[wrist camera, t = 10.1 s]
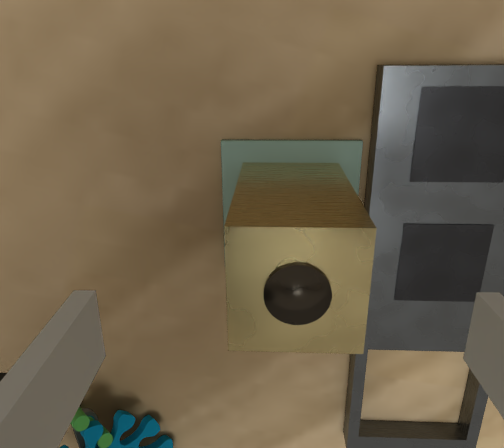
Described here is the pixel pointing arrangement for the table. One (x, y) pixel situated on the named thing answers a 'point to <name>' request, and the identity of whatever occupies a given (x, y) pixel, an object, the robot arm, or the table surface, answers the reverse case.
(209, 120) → the table surface
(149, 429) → the blue spiky knobbed toy
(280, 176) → the wooden speaker box
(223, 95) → the table surface
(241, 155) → the translucent green panel
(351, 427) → the rail
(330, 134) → the table surface
